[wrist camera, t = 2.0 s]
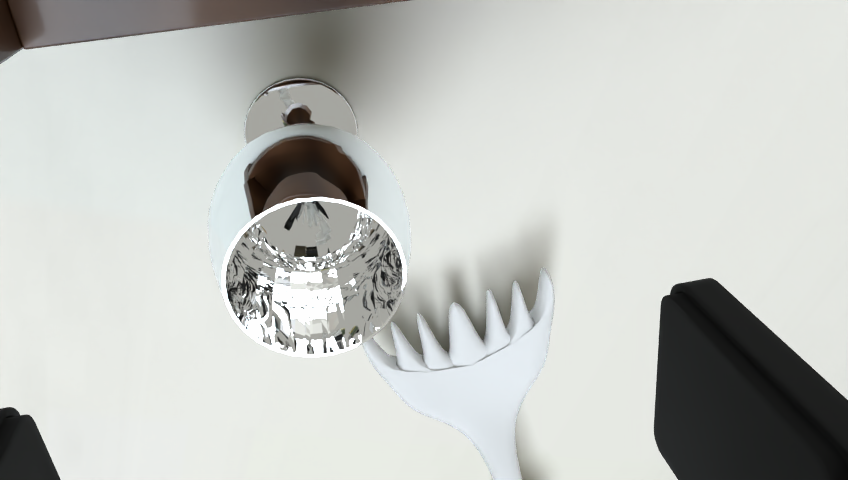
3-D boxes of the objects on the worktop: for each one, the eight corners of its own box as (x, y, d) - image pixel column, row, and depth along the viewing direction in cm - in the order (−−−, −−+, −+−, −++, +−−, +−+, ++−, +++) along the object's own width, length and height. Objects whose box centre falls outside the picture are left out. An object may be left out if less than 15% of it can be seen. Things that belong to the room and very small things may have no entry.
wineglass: (336, 220, 31) (367, 399, 20) (204, 167, 29) (162, 335, 18) (398, 100, 29) (468, 228, 18) (262, 34, 27) (253, 136, 16)
